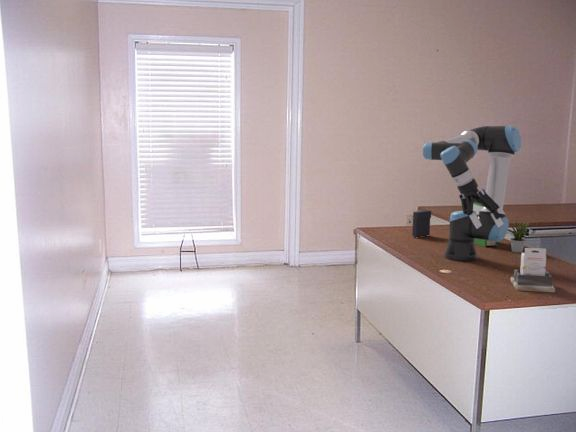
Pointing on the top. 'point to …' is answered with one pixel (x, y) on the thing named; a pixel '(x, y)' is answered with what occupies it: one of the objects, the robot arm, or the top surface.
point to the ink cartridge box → (533, 262)
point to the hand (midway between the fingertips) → (489, 226)
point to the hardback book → (484, 243)
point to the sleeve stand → (532, 282)
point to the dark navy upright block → (421, 223)
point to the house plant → (518, 237)
